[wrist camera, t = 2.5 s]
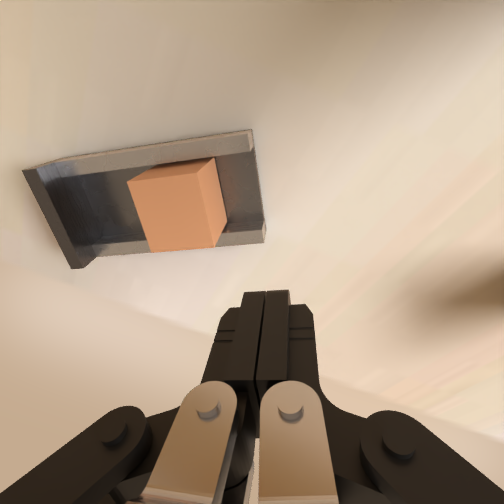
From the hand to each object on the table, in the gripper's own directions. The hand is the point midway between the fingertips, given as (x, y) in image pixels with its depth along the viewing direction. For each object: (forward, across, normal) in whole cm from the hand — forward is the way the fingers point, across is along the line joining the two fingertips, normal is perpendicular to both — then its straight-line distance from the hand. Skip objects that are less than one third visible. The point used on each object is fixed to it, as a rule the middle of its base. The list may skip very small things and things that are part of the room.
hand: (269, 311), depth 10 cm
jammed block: (+17, +8, 0) cm, 18 cm away
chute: (+17, +10, 0) cm, 19 cm away
